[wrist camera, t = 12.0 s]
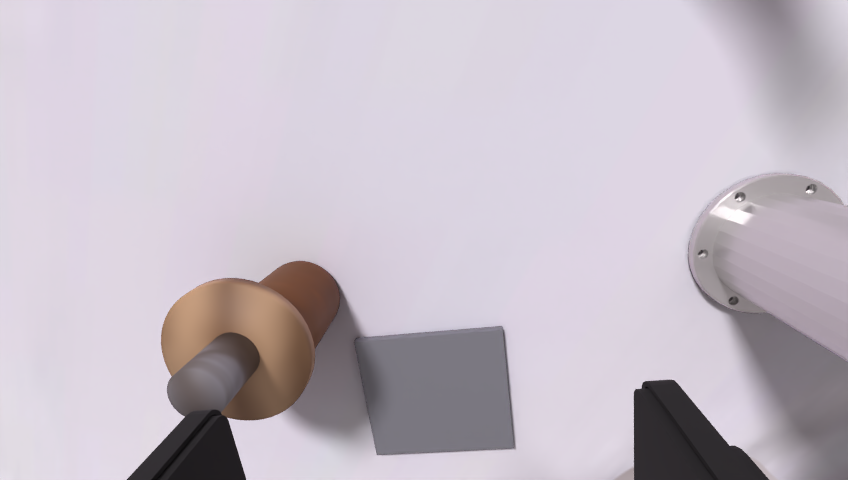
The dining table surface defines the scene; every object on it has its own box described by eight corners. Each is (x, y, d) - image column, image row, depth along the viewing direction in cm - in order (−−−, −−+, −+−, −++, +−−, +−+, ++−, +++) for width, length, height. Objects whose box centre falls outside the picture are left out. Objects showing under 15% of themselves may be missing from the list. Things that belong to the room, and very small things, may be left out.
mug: (250, 345, 45) (197, 402, 35) (219, 282, 43) (155, 324, 34) (353, 316, 43) (324, 369, 34) (325, 249, 41) (287, 285, 32)
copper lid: (296, 270, 31) (258, 305, 25) (328, 406, 34) (301, 464, 29) (152, 285, 33) (84, 322, 27) (195, 414, 36) (142, 472, 30)
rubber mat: (501, 326, 41) (502, 329, 41) (513, 442, 45) (513, 448, 44) (356, 338, 43) (354, 342, 42) (378, 449, 47) (376, 454, 46)
